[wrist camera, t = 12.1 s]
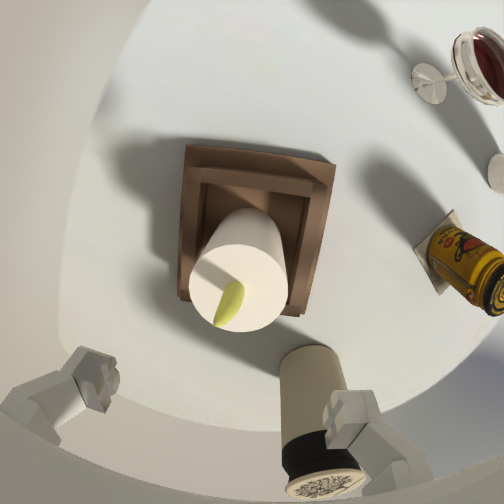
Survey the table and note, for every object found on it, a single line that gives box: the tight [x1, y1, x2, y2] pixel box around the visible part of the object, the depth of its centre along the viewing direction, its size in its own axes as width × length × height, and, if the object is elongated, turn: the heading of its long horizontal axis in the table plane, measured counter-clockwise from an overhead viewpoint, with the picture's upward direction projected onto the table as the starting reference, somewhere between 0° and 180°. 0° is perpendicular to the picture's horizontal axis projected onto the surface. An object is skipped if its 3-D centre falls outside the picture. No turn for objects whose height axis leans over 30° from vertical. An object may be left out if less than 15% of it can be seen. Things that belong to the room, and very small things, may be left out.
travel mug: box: [280, 345, 366, 499], centre depth 26 cm, size 8×8×18 cm
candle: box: [189, 208, 288, 332], centre depth 21 cm, size 6×6×15 cm
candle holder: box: [177, 144, 336, 317], centre depth 26 cm, size 16×14×5 cm
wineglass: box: [412, 27, 504, 107], centre depth 16 cm, size 7×7×12 cm
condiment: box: [413, 211, 504, 317], centre depth 23 cm, size 7×8×12 cm
